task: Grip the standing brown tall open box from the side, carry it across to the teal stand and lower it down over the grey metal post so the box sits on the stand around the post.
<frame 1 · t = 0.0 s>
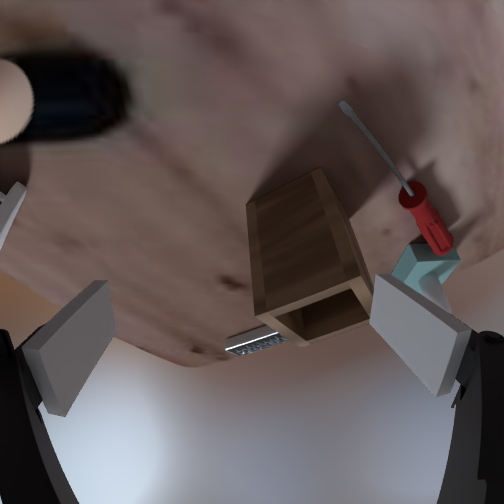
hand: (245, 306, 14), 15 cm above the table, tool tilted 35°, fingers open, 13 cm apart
brown tall open box: (300, 212, 31), on the table
post stand: (419, 262, 39), on the table
screwdriver: (402, 179, 28), on the table
multiport hub: (264, 329, 52), on the table
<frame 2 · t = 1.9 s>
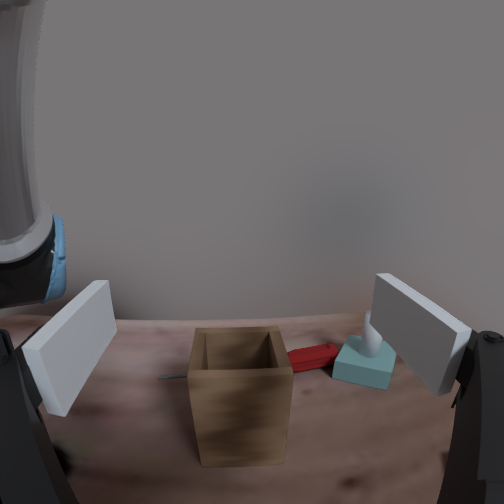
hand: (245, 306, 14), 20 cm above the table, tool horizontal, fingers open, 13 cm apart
brown tall open box: (240, 438, 28), on the table
post stand: (365, 369, 40), on the table
screwdriver: (252, 379, 40), on the table
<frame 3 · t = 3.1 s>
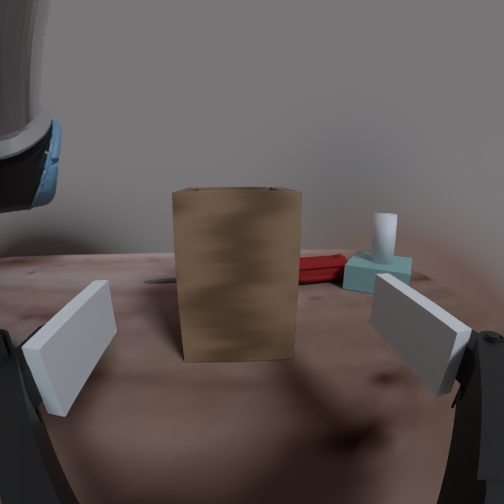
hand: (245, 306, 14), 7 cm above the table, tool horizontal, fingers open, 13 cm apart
brown tall open box: (237, 335, 25), on the table
post stand: (378, 283, 37), on the table
screwdriver: (251, 290, 36), on the table
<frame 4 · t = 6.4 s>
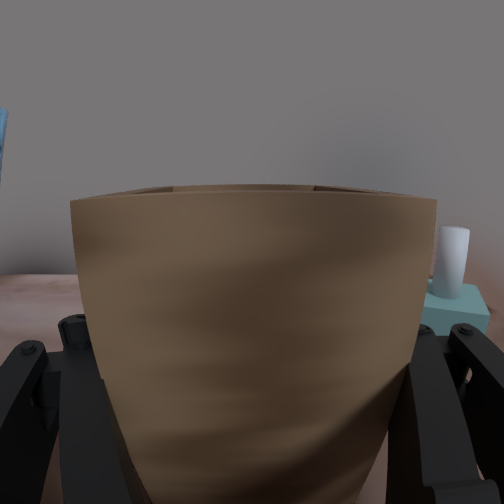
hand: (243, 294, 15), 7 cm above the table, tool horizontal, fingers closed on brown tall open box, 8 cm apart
brown tall open box: (251, 451, 12), on the table, touching gripper
post stand: (438, 323, 24), on the table
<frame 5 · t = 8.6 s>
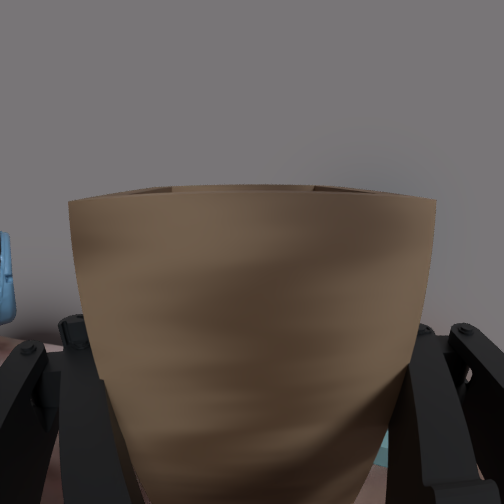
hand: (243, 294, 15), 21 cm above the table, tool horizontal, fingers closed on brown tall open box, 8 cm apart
brown tall open box: (250, 452, 12), point 14 cm above the table, touching gripper
when the fingers open (11 cm above the table, at t = 11.7 s): brown tall open box drops 1 cm, resting on screwdriver.
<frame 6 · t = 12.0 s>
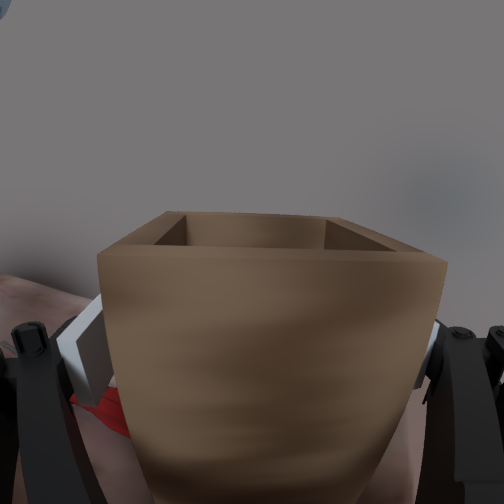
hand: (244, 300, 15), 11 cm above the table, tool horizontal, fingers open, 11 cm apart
brown tall open box: (251, 466, 13), point 3 cm above the table, touching screwdriver
screwdriver: (70, 399, 21), on the table, touching brown tall open box
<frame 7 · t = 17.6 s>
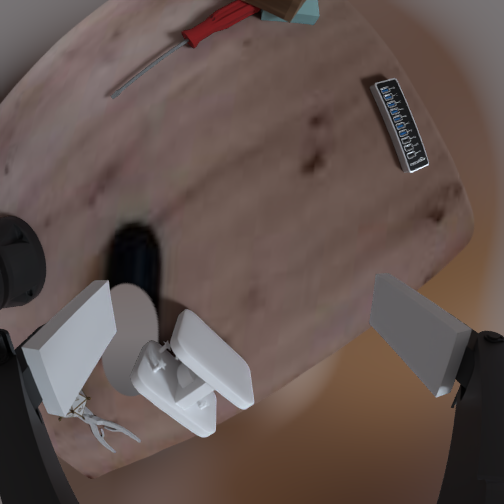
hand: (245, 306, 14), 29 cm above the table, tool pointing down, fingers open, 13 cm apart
post stand: (286, 2, 34), on the table
screwdriver: (185, 47, 36), on the table, touching brown tall open box
cable organizer: (198, 353, 47), on the table
pliers: (101, 424, 50), on the table
multiport hub: (396, 126, 41), on the table
game die: (75, 386, 47), on the table
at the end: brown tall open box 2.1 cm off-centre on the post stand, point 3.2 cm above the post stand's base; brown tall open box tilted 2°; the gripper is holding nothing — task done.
